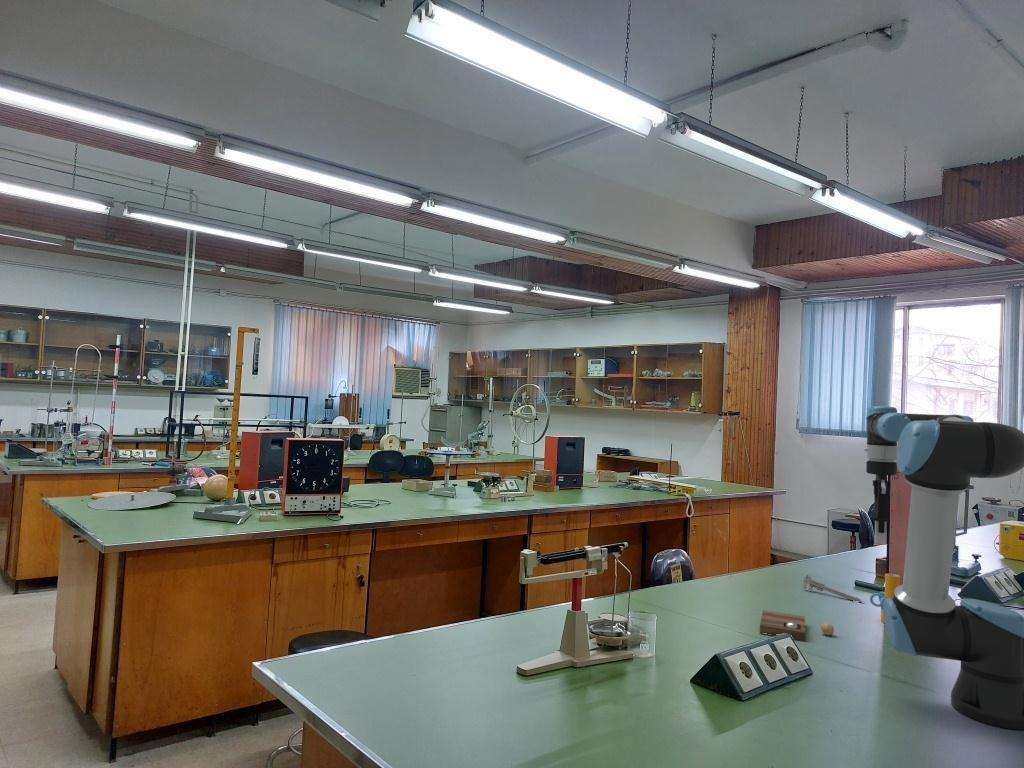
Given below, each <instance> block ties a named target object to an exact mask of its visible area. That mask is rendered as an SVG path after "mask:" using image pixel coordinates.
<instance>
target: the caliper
mask: <svg viewBox="0 0 1024 768" xmlns="http://www.w3.org/2000/svg"><path fill="white" fill-rule="evenodd" d="M807 586H808V587H807ZM806 588H807V591H808V590H811V591H812V590H813V589H814V588H815V589H816V590H817V591H818V590H819V591H820V592H823V591H826V592H829V593H831V594H834V595H836V596H838V597H842V598H843V599H847V600H849V599H850V600H849V601H851V600H854V601H858V602H859V603H860V602H864V601H863V600H861V598H859V597H856V596H853V595H851V594H849V593H846V592H844V591H840V590H838V589H837V588H836V589H835V588H833V587H829V586H828V585H825V583H823V582H820V581H818V580H815V579H812V575H810V576H809V574H807V575H806V576H804V577H803V581H802V590H803V589H805V590H806ZM854 601H853V602H854ZM858 602H857V603H858Z"/></svg>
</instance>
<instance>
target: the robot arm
mask: <svg viewBox="0 0 1024 768" xmlns="http://www.w3.org/2000/svg"><path fill="white" fill-rule="evenodd" d="M865 419H866V447H864V449H863V451H864V452H866V459H868V460H866V467H865V469H866V473H867V474H869V475H875V479H873V480H872V486H873V495H874V496H873V497H874V498H873V499H874V500H873V501H874V502H873V503H874V505H873V506H874V513H873V515H874V517H873V518H872V519H873V521H874V544H875V545H882V546H883V545H884V546H887V530H888V529H887V528H888V527H887V524H888V523H887V522H888V521H889V516H888V514H889V497H890V488H891V481H889V480H888V476H896V475H897V474H898V471H899V473H901V474H903V475H904V481H905V482H906V483H908V485H910V486H911V490H910V491H911V493H910V503H909V504H910V505H909V513H908V514H909V515H908V523H907V524H908V525H907V534H906V535H907V536H906V545H905V547H906V548H905V555H904V557H905V558H904V568H903V575H902V576H903V578H902V583H901V584H900V586H898V587H896V588H895V590H894V598H890V597H889V598H885V599H884V602H883V613H884V621H885V623H884V625H885V630H886V634H887V637H888V640H889V642H890V645H891V646H892V648H893V649H894V650H895V651H897V652H899V653H901V654H902V653H903V654H908V655H913V656H915V657H917V656H921V657H929V658H937V659H943V660H950V661H959V662H960V671H959V673H958V676H957V678H956V680H955V683H954V685H953V687H952V689H951V692H950V705H951V706H952V708H954V709H955V710H956V711H957V712H959V713H960V712H961V713H960V714H962V715H964V716H966V717H968V718H971V719H973V720H976V721H978V722H981V723H983V724H987V725H991V726H995V727H999V728H1003V729H1008V730H1009V729H1010V730H1016V731H1018V730H1019V731H1024V616H1023V615H1022V614H1020V613H1019V612H1017V611H1015V610H1013V609H1010V608H1008V607H1006V606H1002V605H999V604H997V603H996V604H995V603H993V602H989V601H985V600H980V599H974V598H962V599H961V600H960V602H959V605H956V601H955V600H954V599H953V597H952V596H951V595H950V594H949V591H950V584H951V583H950V582H951V574H952V564H953V557H954V555H953V554H954V547H955V538H956V531H957V530H956V529H957V520H958V509H959V502H960V495H961V493H963V492H965V491H967V490H969V488H970V483H971V478H973V479H974V478H979V479H998V478H1004V477H1008V476H1010V475H1014V474H1015V473H1017V472H1018V473H1019V471H1021V470H1022V469H1024V432H1023V431H1022V430H1020V429H1018V428H1016V427H1015V426H1012V425H1007V424H1003V423H999V422H998V423H997V422H988V421H987V422H986V421H984V422H983V421H982V422H981V421H979V422H977V421H974V420H973V418H972V417H970V416H968V415H962V414H961V415H960V414H926V413H925V414H924V413H905V412H904V413H902V412H901V413H900V412H898V409H897V408H896V407H895V406H880V405H879V406H873V405H871V406H869V407H868V408H867V414H866V418H865Z"/></svg>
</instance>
